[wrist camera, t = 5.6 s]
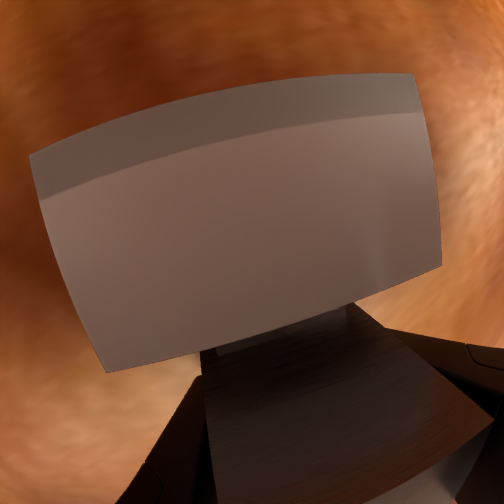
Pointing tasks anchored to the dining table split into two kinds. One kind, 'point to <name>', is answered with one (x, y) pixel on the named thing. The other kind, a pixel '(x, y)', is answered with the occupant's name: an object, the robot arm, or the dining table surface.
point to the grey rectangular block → (239, 211)
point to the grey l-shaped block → (335, 417)
